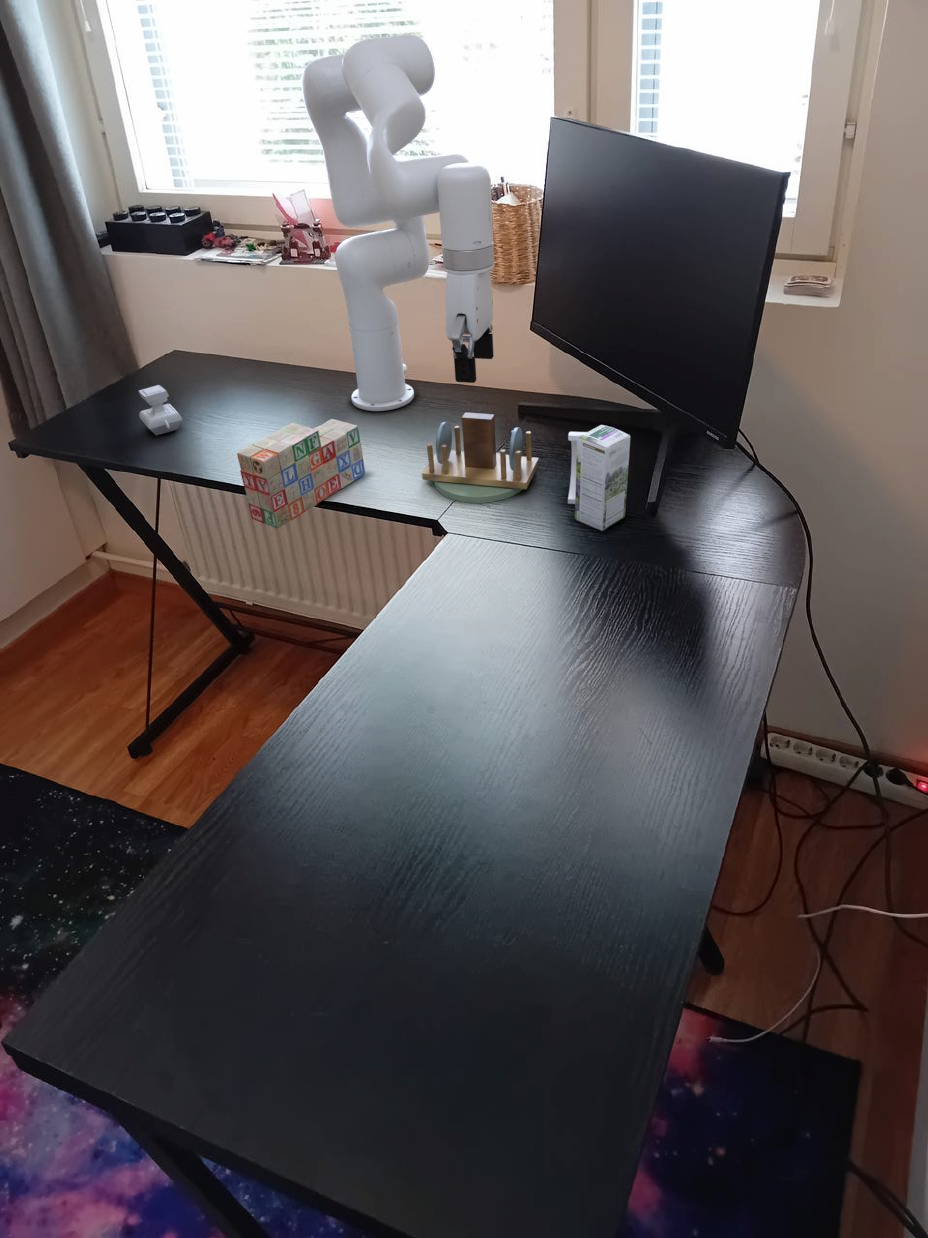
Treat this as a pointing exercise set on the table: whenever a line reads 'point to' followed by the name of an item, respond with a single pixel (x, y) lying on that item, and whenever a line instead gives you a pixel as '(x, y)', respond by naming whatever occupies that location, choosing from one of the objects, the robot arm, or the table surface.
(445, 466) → the plate rack
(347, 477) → the stack of blocks
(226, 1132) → the table surface
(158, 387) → the stamp
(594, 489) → the syrup box
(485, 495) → the turntable
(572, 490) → the white curved piece
